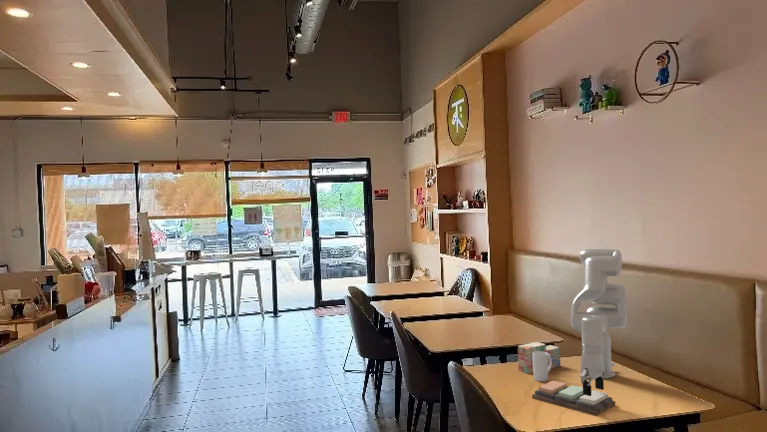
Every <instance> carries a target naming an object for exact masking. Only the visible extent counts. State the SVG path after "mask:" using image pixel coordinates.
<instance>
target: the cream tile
mask: <svg viewBox="0 0 767 432" xmlns="http://www.w3.org/2000/svg"><path fill="white" fill-rule="evenodd" d="M591 394H592V395H591V396H587V395H583V396H581V397H579V400H580V402H584V403H587V404H591V405H596V404H597V403H599V402H601V401H603V400H605V399H606V398H608V397H609V395H608V393H606V392H602V391H598V390H594V389H593V390H591Z"/></svg>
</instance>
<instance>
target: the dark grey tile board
mask: <svg viewBox="0 0 767 432" xmlns="http://www.w3.org/2000/svg"><path fill="white" fill-rule="evenodd" d="M568 387H569V386H568V385H566V388H568ZM566 388H564V389H566ZM564 389H562V390H564ZM562 390H560V391H562ZM560 391H558V392H556V393H554V394H549V393H545V392H542V391H539V388H537V389H536V390H535V391H534V393H532V395H531V397H532V399H535V400H538V401H541V402H545V403H548V404H552V405H557V406H559V407H563V408H566V409H567V408H568V409H571V410H574V411H578V412H582V413H584V414H585V413H586V414H589V415H591V416H596V417H597V416H599V415H601V414H602V413H604V412H606V411H608V410H610V409H611V408H612V407H615V406H616V400H613V397H611V396H608V398H606V399H605V400H603V401H601V402H599V403H597V404H596V405H591V404H587V403H584V402H580V400H579V397H581V396H583V395H584V394H582V395H580V396H578V397H576V398H575V399H573V400H572V399H568V398H565V397H561V396H559V392H560Z"/></svg>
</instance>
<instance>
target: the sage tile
mask: <svg viewBox="0 0 767 432" xmlns="http://www.w3.org/2000/svg"><path fill="white" fill-rule="evenodd" d="M567 387H568V388H566V389H564V390H562V391H560V392H559V396H561V397H565V398H568V399H572V400H573V399H575V398H576V397H578V396H580V395H582V394H583V386H577V385H570V386H567Z"/></svg>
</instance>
